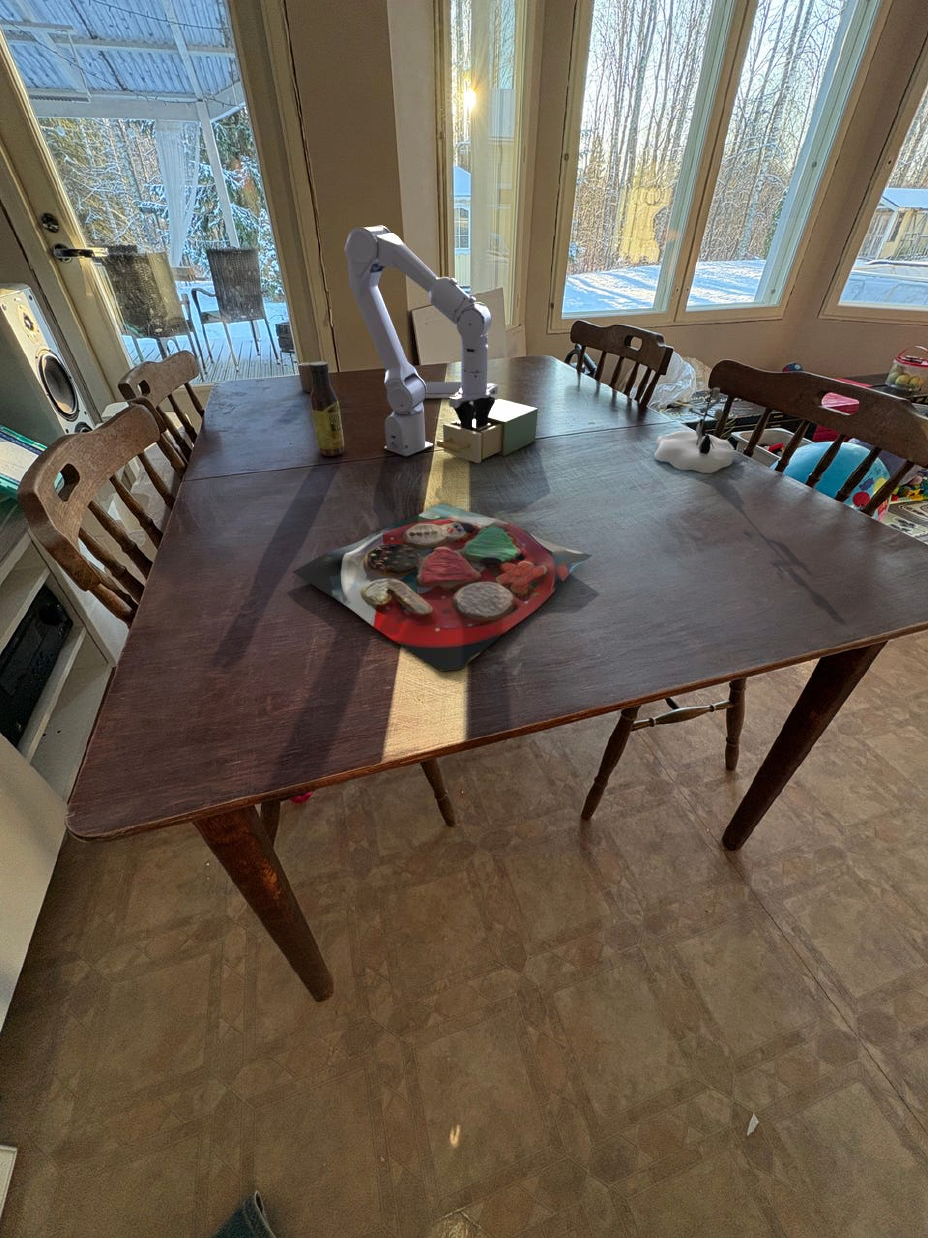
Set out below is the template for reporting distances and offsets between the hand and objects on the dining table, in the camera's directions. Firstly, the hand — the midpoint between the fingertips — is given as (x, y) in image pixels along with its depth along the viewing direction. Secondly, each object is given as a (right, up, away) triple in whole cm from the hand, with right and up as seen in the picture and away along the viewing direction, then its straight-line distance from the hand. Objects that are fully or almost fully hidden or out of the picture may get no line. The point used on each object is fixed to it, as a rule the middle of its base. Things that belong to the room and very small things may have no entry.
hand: (473, 432), depth 120 cm
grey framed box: (0, -1, +1) cm, 1 cm away
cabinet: (+7, +1, +9) cm, 12 cm away
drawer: (-1, -4, +2) cm, 5 cm away
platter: (-6, -36, -35) cm, 51 cm away
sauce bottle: (-34, -3, +5) cm, 35 cm away
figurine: (+52, -5, +2) cm, 53 cm away
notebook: (-8, +28, +43) cm, 53 cm away
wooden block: (-52, +30, +46) cm, 75 cm away
